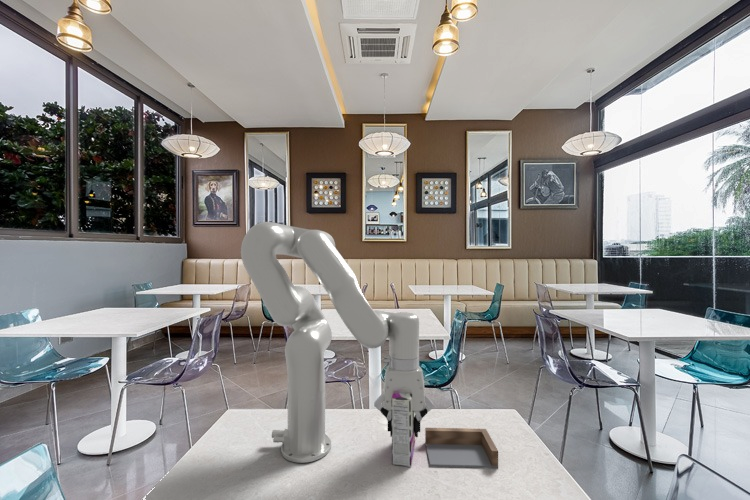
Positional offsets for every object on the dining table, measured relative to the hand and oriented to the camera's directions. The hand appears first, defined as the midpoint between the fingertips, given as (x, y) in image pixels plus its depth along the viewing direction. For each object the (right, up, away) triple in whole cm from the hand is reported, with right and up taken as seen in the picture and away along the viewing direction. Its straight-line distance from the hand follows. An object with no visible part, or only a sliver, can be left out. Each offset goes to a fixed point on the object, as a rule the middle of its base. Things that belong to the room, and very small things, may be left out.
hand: (403, 433), depth 86 cm
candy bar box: (0, -5, 0) cm, 5 cm away
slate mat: (+14, -5, -1) cm, 15 cm away
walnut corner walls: (+14, -5, -1) cm, 15 cm away
